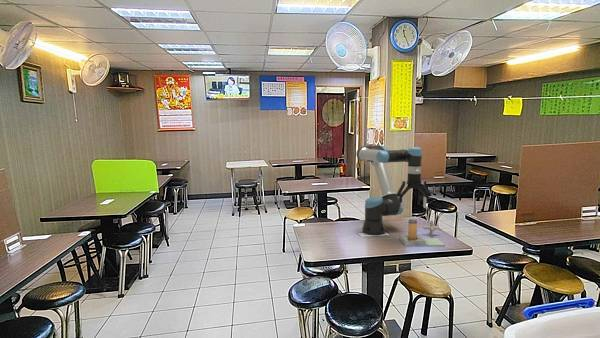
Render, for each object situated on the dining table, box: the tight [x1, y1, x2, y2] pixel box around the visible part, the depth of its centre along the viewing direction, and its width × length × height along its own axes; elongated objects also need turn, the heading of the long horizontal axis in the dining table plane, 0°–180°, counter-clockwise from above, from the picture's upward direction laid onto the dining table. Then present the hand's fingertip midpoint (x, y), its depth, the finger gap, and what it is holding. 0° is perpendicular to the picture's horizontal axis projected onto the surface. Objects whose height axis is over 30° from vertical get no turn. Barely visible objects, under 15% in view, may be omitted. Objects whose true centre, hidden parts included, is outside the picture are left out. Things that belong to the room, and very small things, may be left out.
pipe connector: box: [422, 219, 441, 237], centre depth 205 cm, size 10×10×10 cm
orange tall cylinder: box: [407, 218, 418, 240], centre depth 192 cm, size 5×5×14 cm
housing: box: [399, 233, 427, 247], centre depth 193 cm, size 12×12×3 cm
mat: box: [423, 238, 446, 247], centre depth 192 cm, size 11×10×1 cm
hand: (413, 207), depth 191 cm, fingers open, 13 cm apart
